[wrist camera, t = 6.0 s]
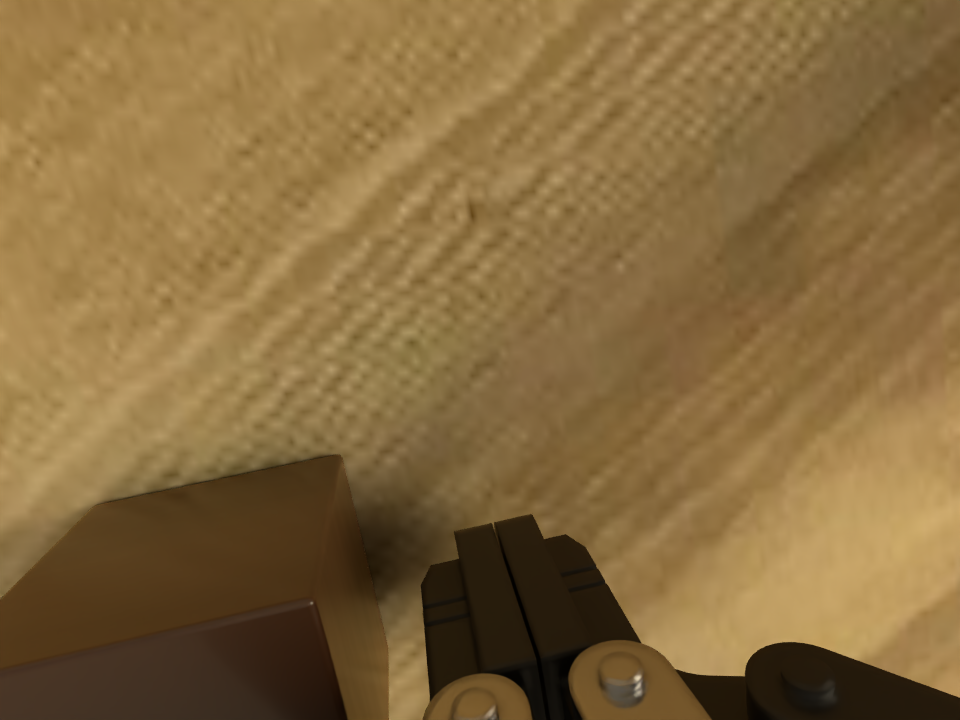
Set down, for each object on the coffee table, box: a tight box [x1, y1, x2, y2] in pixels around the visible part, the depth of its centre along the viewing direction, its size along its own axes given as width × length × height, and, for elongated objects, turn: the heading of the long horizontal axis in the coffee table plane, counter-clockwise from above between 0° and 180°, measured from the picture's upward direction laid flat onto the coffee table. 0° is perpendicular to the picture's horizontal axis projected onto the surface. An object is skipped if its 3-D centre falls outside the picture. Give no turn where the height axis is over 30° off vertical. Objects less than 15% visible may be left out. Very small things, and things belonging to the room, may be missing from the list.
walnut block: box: [0, 455, 389, 720], centre depth 9 cm, size 4×4×4 cm
